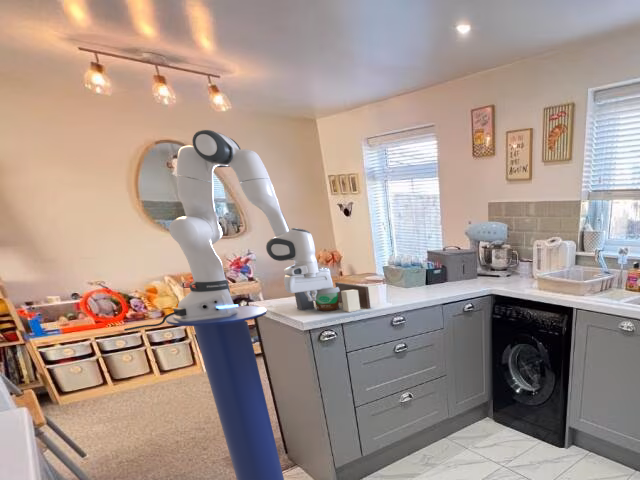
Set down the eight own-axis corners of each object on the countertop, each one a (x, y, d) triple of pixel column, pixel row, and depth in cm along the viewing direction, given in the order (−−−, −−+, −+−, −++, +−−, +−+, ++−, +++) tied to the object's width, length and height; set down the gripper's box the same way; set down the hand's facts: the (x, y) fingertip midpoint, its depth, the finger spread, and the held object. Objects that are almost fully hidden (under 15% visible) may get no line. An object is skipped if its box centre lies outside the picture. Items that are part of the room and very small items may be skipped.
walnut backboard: (367, 308, 193) (365, 287, 189) (338, 302, 206) (335, 282, 202) (370, 308, 194) (368, 286, 190) (340, 302, 207) (337, 282, 203)
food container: (313, 312, 184) (310, 289, 180) (313, 309, 189) (309, 287, 185) (343, 310, 189) (340, 288, 185) (342, 307, 194) (339, 286, 190)
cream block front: (349, 312, 186) (346, 291, 182) (343, 310, 188) (340, 290, 184) (360, 309, 190) (357, 290, 187) (355, 308, 192) (352, 289, 189)
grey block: (302, 310, 188) (298, 290, 184) (297, 309, 190) (293, 289, 187) (314, 308, 192) (311, 289, 189) (309, 307, 194) (306, 288, 191)
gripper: (325, 266, 187) (330, 296, 192) (279, 270, 171) (286, 303, 176) (333, 267, 183) (337, 298, 188) (287, 271, 168) (293, 305, 173)
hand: (312, 300), depth 182 cm, fingers closed
